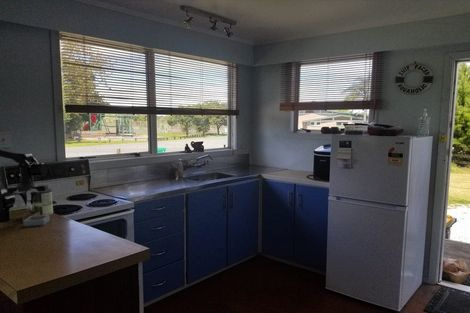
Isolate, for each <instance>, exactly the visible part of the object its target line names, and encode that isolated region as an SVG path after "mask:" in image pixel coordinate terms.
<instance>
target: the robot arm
mask: <svg viewBox="0 0 470 313" xmlns="http://www.w3.org/2000/svg"><path fill="white" fill-rule="evenodd" d="M0 157H1V158H5V159H10V160H13V161H14V162H15V163H17V166H16V167H15V169H19V171H20V178H19V183H18V184H17V185H15V186H13V185H12V186H9V187H7V189H6V188H5V186H4V184H3V183H2V181H1V180H0V221H1V222H10V220H12V219H14V217H13V216H11V208H14V205H15V203H16V196H15V195H14V193H15V192H16V195H19V196H20V197H21V199H22V200H23V203H24V205H26V206H27V204H26V200H28V194H27V193H28V191H30V199H31V204H32V205H33V202H34V199H35V196H36V194H37V192H39V191H46V190H48V189H49V185H48V184H39V185H37V186H36V185H35V184H34V179H35V177H46V176H47V174H48V171H49V170H48V168H47V166H46V164H45V163H44V162H41V163H39V162H38V160H37V159H36V158H35V157H34V155H33V153H32V152H22V151H21V152H19V151H18V152H17V151H13V150H9V149H5V148H0Z"/></svg>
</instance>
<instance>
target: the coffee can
mask: <svg viewBox="0 0 470 313" xmlns="http://www.w3.org/2000/svg"><path fill="white" fill-rule="evenodd" d="M52 191H53V189H51V188H48V190H46V191H39V192H37V194H36V196H35V199H34V202H33V204H32V211H36V212H40V216H43V215H49V216H50V215H52V214H54V205H53V195H52V194H53V192H52Z"/></svg>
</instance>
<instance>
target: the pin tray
mask: <svg viewBox="0 0 470 313" xmlns="http://www.w3.org/2000/svg"><path fill="white" fill-rule="evenodd" d="M50 218H51V216H50V215H43V216H30V217H29V218H27V219H26V220H24V221H23V222H22V223H23V228H25V227H26V228H27V227H40V226H42V227H43V226H45V225H46V224H48V223H49V222H50V221H51V220H50Z"/></svg>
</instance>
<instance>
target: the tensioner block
mask: <svg viewBox="0 0 470 313" xmlns="http://www.w3.org/2000/svg"><path fill="white" fill-rule="evenodd" d="M30 216H40V212H36V211H33V210H32V211H27V213H26V214H23V215H22V217H21V220H22V223H23V221H24V220H26V219H27V218H29V217H30Z"/></svg>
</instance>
